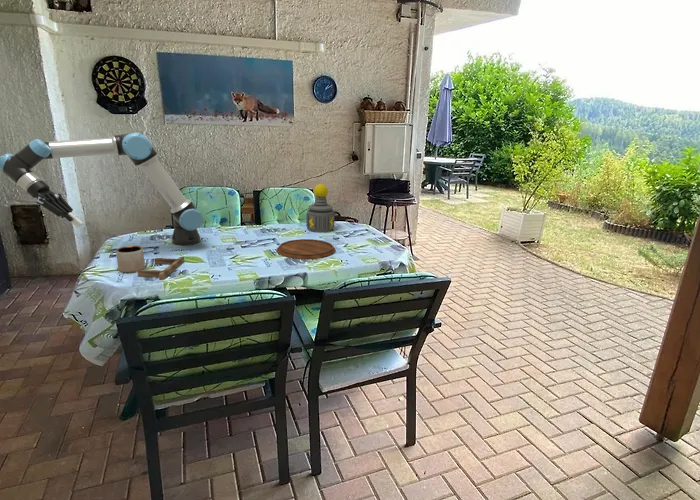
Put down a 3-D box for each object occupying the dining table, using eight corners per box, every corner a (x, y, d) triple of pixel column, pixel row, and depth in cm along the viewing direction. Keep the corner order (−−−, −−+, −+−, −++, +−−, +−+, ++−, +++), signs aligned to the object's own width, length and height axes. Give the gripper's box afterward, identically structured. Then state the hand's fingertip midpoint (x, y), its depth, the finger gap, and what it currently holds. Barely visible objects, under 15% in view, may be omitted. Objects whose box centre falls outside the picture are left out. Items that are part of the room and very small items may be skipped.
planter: (127, 275, 174) (124, 254, 172) (113, 269, 180) (110, 249, 177) (150, 268, 183) (148, 248, 180) (136, 263, 189) (134, 244, 186)
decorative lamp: (323, 234, 252) (324, 187, 244) (300, 229, 262) (300, 183, 253) (340, 229, 268) (341, 184, 259) (317, 224, 277) (318, 181, 268)
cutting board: (303, 239, 240) (303, 235, 239) (346, 250, 223) (347, 245, 222) (264, 251, 215) (264, 247, 214) (309, 264, 198) (309, 259, 197)
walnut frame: (159, 261, 193) (158, 256, 192) (184, 261, 193) (183, 256, 193) (134, 278, 170) (133, 273, 169) (162, 279, 170) (162, 274, 170)
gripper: (40, 189, 177) (84, 227, 182) (17, 194, 164) (65, 234, 170) (50, 177, 175) (94, 216, 181) (27, 181, 163) (75, 222, 168)
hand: (80, 225), depth 175 cm, fingers closed
